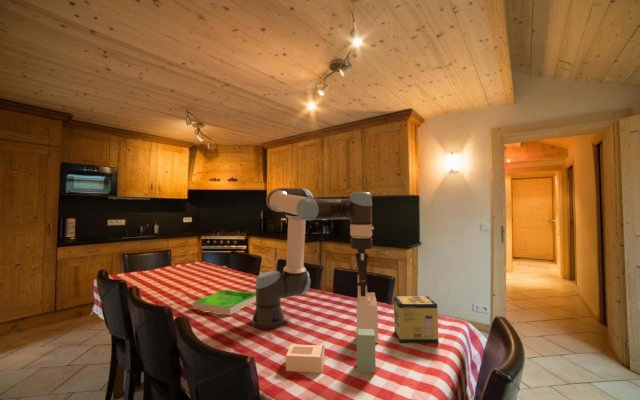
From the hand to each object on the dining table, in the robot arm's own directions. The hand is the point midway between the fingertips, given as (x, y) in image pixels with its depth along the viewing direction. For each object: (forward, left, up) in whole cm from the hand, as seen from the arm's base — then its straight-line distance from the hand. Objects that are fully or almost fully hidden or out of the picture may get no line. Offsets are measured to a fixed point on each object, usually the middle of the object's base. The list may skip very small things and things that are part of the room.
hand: (362, 299), depth 96 cm
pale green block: (+1, -1, -23) cm, 23 cm away
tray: (-75, +56, -24) cm, 96 cm away
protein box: (+22, +24, -23) cm, 40 cm away
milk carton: (+2, +20, -23) cm, 31 cm away
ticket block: (-20, -1, -23) cm, 30 cm away
